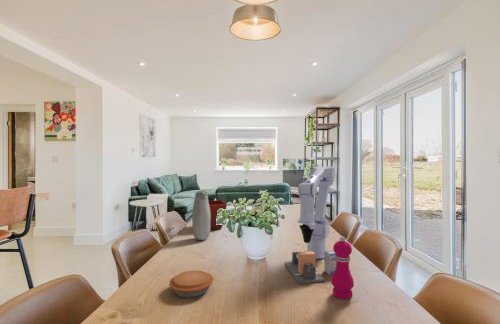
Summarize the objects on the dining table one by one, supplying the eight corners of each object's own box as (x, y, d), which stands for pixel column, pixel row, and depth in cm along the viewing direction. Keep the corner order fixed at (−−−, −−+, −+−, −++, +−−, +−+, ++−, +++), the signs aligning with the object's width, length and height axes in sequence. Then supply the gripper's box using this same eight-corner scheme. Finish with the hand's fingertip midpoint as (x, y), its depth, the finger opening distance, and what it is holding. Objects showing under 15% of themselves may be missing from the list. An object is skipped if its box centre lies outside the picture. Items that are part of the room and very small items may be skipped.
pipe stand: (284, 264, 123) (284, 251, 123) (306, 262, 124) (306, 250, 124) (298, 283, 104) (298, 268, 104) (324, 281, 106) (324, 267, 106)
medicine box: (329, 275, 111) (329, 254, 111) (323, 271, 115) (323, 250, 115) (347, 273, 113) (347, 252, 113) (340, 269, 117) (340, 248, 117)
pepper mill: (336, 288, 101) (336, 232, 100) (356, 294, 96) (356, 236, 96) (327, 295, 95) (327, 237, 95) (349, 302, 90) (349, 241, 90)
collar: (298, 270, 111) (298, 252, 111) (312, 269, 112) (312, 251, 112) (300, 274, 108) (300, 254, 108) (315, 273, 109) (315, 253, 109)
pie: (169, 304, 90) (169, 289, 90) (169, 283, 105) (169, 270, 105) (217, 297, 95) (216, 282, 95) (210, 278, 110) (210, 265, 109)
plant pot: (194, 225, 193) (193, 201, 193) (221, 223, 199) (221, 199, 199) (197, 232, 175) (197, 205, 175) (227, 230, 181) (227, 204, 180)
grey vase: (209, 242, 156) (208, 191, 155) (190, 242, 156) (190, 191, 155) (211, 237, 165) (211, 189, 165) (194, 237, 166) (194, 189, 165)
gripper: (293, 208, 127) (292, 238, 127) (303, 213, 112) (303, 247, 112) (308, 207, 128) (307, 237, 128) (320, 213, 113) (320, 247, 113)
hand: (306, 242), depth 120 cm, fingers closed
